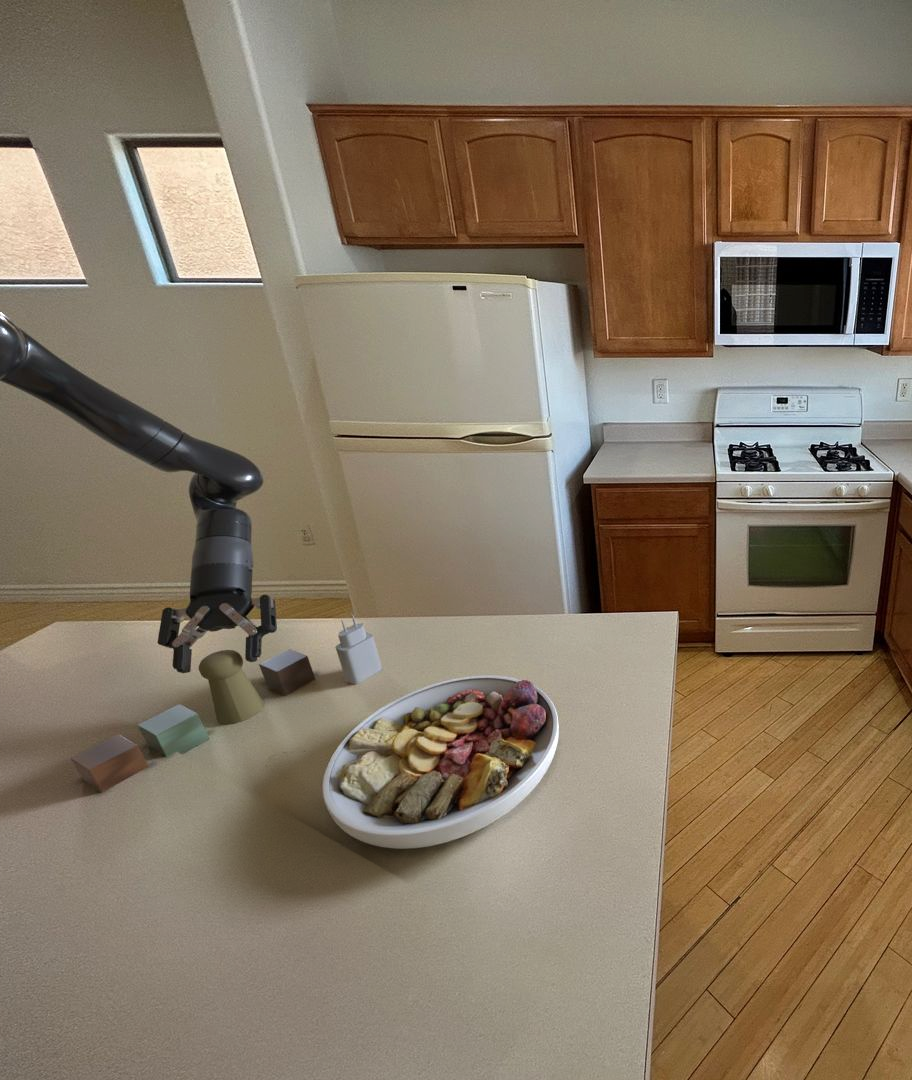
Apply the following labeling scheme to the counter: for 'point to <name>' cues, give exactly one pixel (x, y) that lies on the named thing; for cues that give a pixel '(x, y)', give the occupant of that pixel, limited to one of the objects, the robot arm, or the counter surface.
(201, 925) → the counter surface
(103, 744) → the block row
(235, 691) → the cork
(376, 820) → the bowl
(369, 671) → the power adapter
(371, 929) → the counter surface
